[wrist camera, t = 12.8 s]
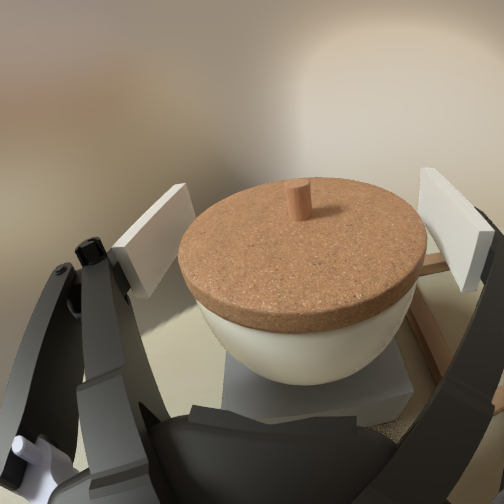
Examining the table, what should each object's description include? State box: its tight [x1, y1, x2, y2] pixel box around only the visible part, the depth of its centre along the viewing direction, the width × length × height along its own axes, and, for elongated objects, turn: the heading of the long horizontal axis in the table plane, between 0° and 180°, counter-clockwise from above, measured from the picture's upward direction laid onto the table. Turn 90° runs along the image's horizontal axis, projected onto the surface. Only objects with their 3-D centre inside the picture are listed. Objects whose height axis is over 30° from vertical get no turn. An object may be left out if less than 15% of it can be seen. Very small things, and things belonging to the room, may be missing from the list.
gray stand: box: [221, 337, 414, 428], centre depth 17 cm, size 10×10×4 cm
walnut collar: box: [406, 252, 504, 415], centre depth 17 cm, size 17×17×1 cm
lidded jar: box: [178, 177, 427, 386], centre depth 14 cm, size 11×11×9 cm
